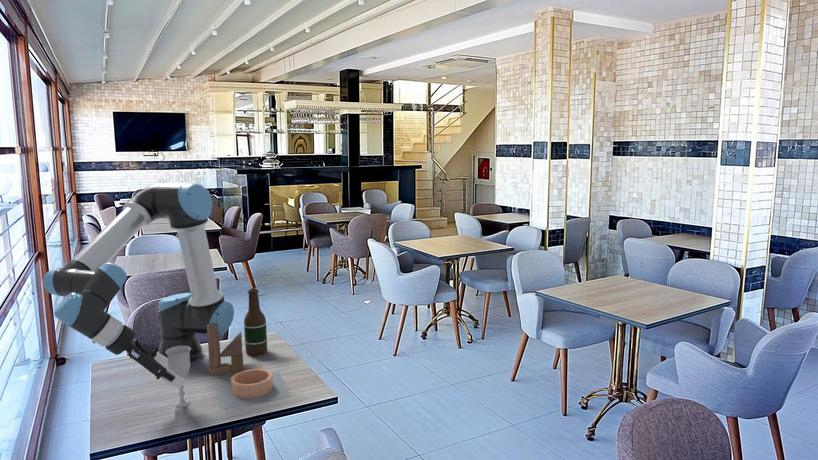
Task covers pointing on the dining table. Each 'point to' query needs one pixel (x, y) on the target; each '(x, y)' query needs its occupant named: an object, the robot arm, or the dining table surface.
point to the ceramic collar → (254, 389)
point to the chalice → (179, 367)
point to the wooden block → (223, 352)
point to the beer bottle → (255, 327)
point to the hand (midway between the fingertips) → (177, 376)
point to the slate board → (232, 401)
